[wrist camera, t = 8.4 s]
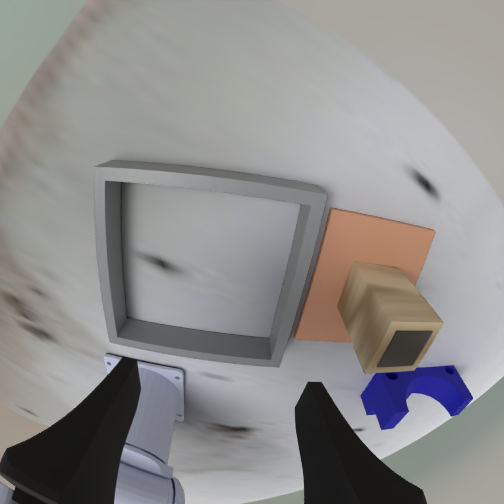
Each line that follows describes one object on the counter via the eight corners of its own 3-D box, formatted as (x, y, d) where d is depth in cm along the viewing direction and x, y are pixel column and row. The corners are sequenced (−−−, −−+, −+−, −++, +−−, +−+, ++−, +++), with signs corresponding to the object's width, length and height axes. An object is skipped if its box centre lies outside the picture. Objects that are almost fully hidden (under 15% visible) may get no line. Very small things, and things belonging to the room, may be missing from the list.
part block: (380, 309, 22) (415, 371, 15) (336, 306, 21) (364, 374, 15) (397, 266, 20) (444, 323, 14) (352, 260, 20) (392, 322, 13)
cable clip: (360, 394, 28) (374, 437, 22) (377, 367, 26) (396, 412, 20) (434, 388, 29) (451, 421, 23) (452, 364, 27) (473, 398, 22)
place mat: (385, 339, 24) (387, 342, 24) (294, 335, 23) (294, 339, 23) (432, 229, 19) (435, 231, 19) (330, 207, 19) (331, 209, 18)
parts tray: (276, 346, 24) (279, 367, 21) (119, 323, 23) (109, 342, 20) (317, 185, 18) (327, 194, 16) (111, 160, 17) (93, 166, 15)
